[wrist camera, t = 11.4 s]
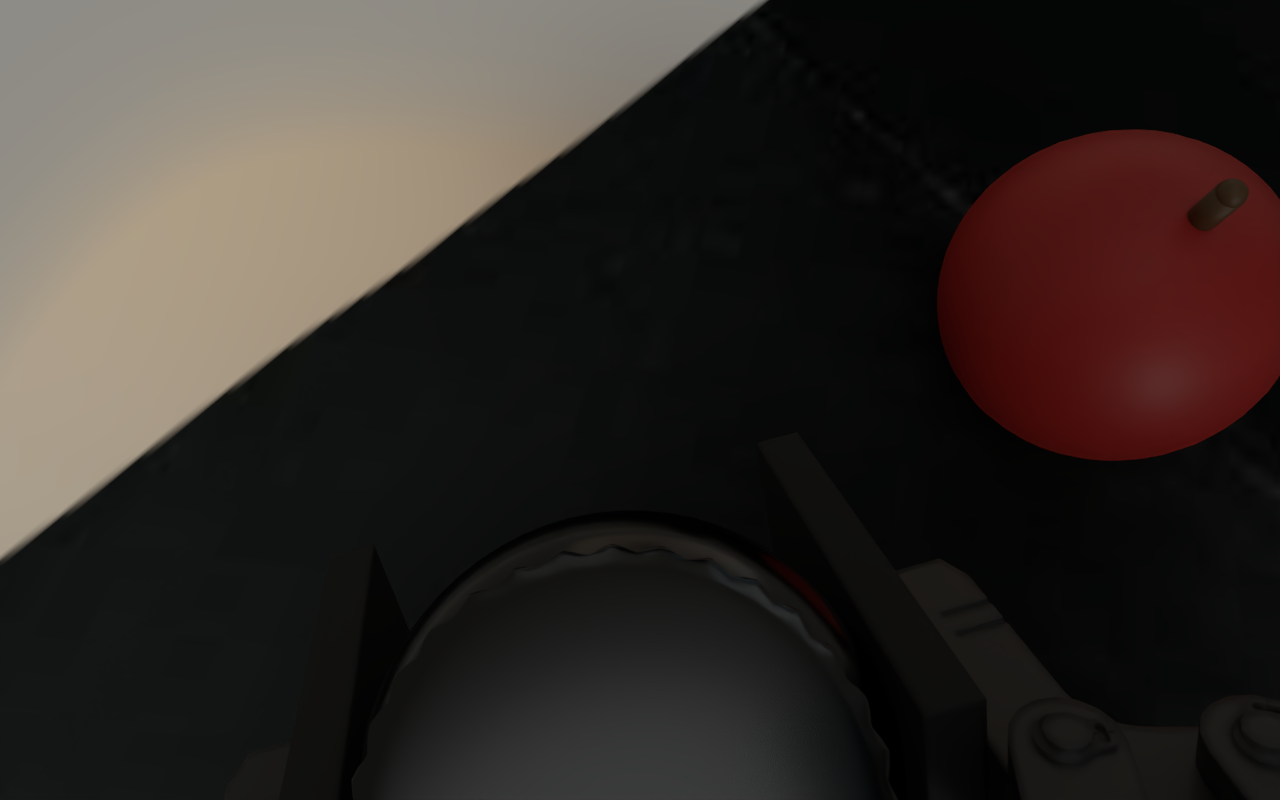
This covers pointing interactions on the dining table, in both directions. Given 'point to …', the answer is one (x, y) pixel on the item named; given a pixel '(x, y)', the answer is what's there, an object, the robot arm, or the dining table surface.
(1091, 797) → the robot arm
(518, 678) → the supplement bottle
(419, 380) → the dining table surface
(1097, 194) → the apple
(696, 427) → the dining table surface
